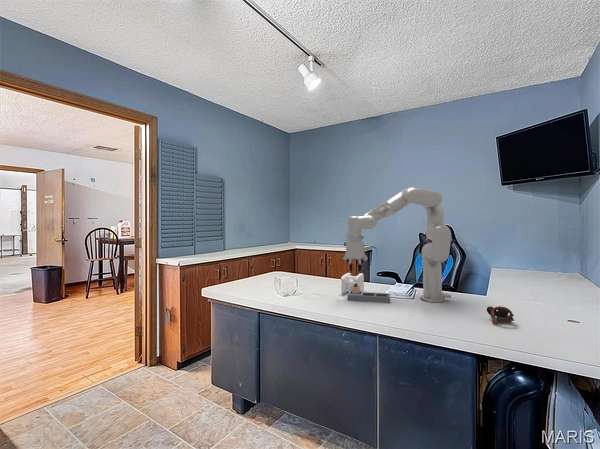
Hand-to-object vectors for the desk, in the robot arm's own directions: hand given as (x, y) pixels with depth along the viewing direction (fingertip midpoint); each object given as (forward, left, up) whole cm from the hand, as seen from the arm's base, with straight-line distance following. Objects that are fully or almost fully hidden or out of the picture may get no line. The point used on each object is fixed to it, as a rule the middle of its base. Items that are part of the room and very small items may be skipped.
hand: (355, 270), depth 174 cm
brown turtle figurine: (-65, +19, -18) cm, 70 cm away
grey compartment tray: (-7, 0, -17) cm, 19 cm away
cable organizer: (+4, -18, -18) cm, 25 cm away
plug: (0, 0, -16) cm, 16 cm away
